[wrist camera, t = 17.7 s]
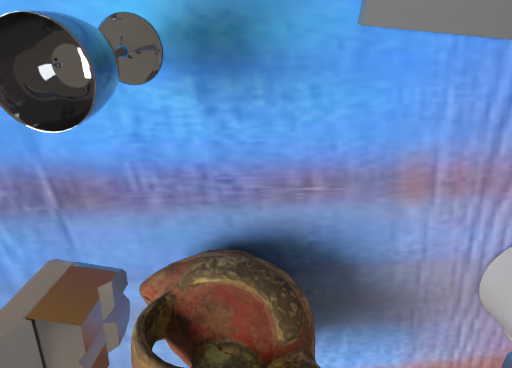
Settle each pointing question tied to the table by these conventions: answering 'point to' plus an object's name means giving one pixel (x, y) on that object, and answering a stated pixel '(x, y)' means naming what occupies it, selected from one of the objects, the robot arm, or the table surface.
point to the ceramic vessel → (225, 315)
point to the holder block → (441, 16)
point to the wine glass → (70, 65)
